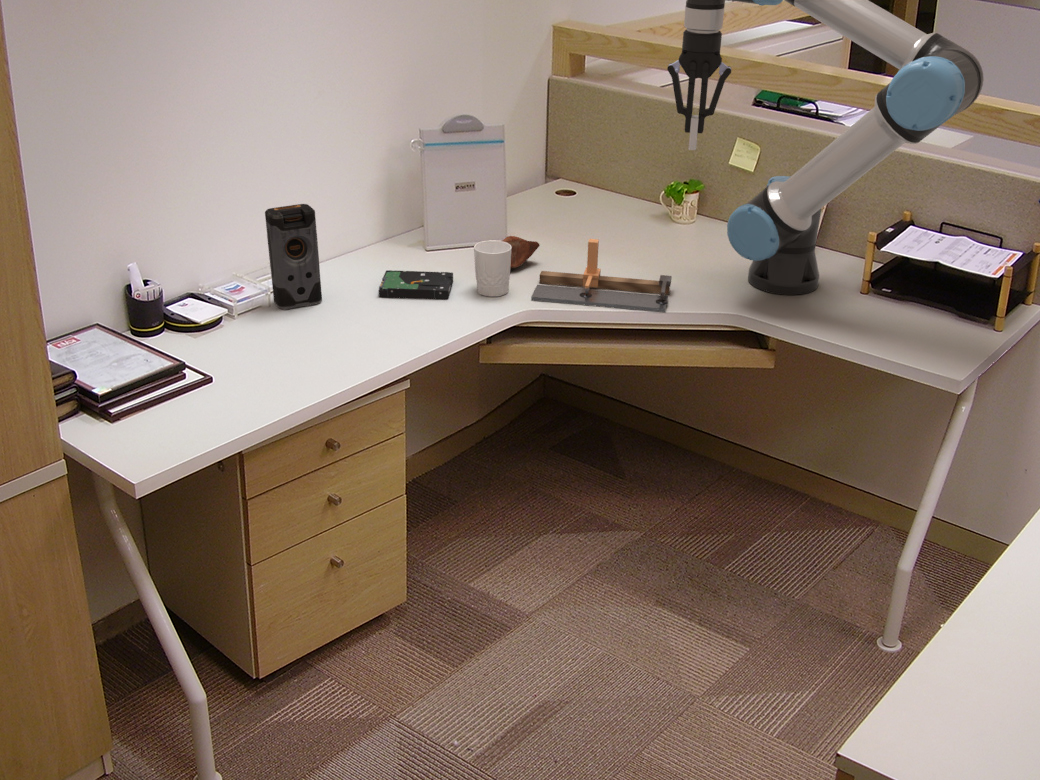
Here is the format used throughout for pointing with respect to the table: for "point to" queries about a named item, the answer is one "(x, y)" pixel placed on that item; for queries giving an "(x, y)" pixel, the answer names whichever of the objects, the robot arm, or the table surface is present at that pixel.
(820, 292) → the table surface
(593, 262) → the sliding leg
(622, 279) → the beam
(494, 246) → the white cup
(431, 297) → the disk drive
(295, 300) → the electronic device
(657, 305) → the metal board
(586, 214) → the table surface
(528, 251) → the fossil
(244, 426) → the table surface
